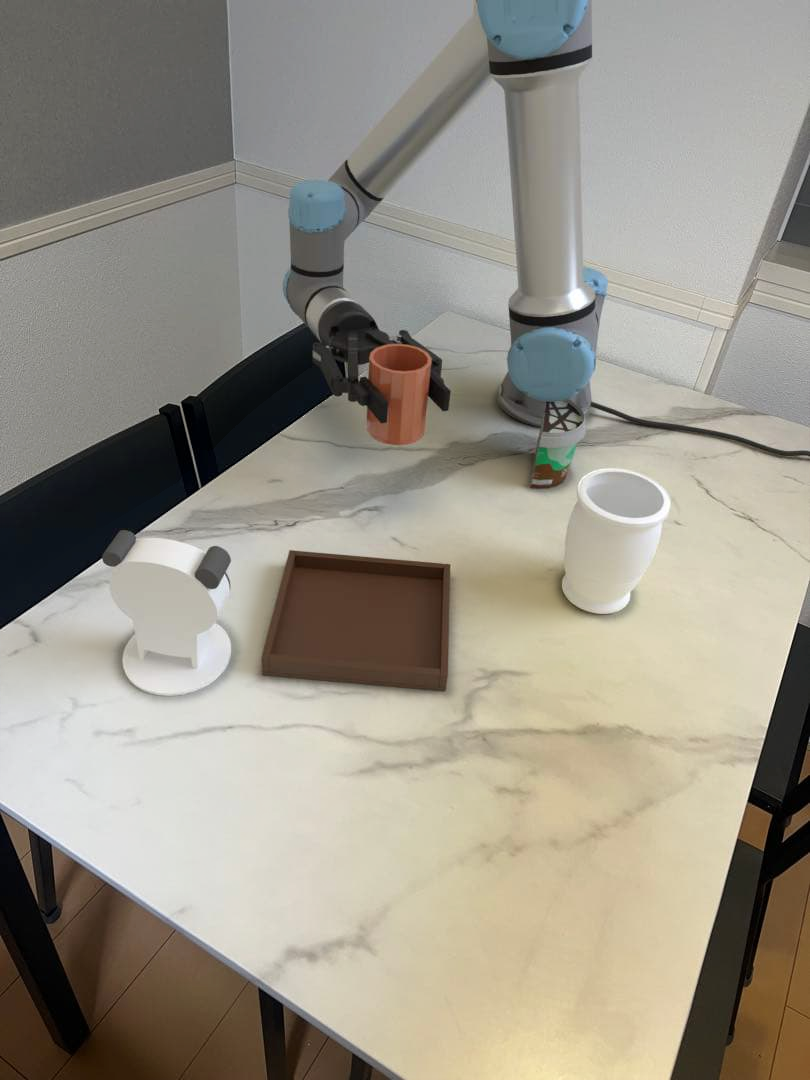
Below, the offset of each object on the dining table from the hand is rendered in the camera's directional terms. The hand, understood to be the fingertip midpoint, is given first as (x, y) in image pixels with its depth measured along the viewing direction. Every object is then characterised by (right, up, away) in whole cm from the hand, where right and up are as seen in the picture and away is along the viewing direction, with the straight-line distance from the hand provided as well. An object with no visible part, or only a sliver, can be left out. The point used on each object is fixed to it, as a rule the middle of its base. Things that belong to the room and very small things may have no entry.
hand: (416, 406), depth 95 cm
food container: (+21, -6, +23) cm, 32 cm away
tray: (-6, -25, -3) cm, 26 cm away
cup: (-3, -2, +7) cm, 8 cm away
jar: (+22, -22, +4) cm, 32 cm away
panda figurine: (-26, -28, -8) cm, 39 cm away
